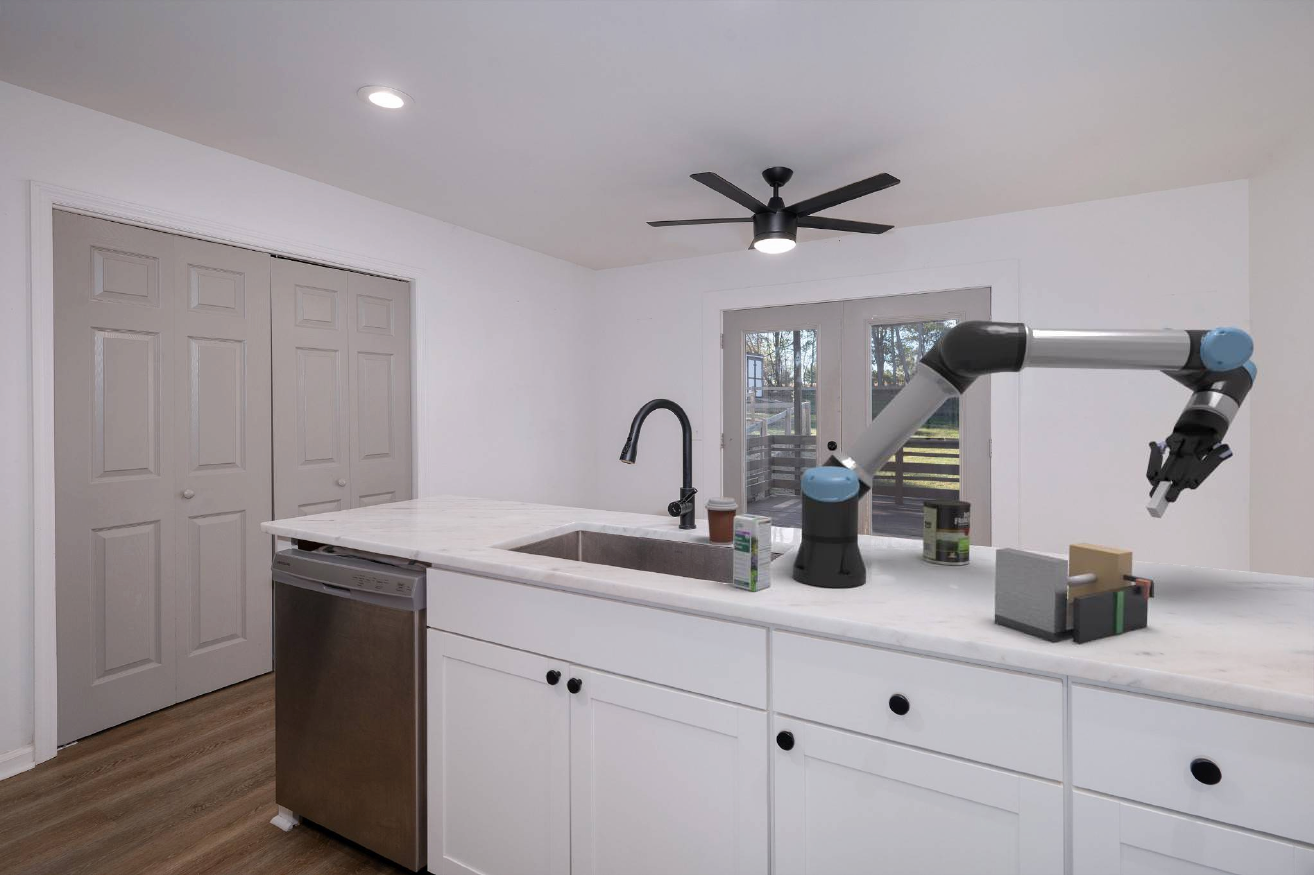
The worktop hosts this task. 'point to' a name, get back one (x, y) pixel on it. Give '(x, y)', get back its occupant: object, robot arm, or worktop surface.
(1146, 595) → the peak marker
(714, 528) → the coffee cup
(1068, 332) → the robot arm
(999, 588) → the stand
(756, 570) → the syrup box
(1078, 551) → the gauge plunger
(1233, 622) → the worktop surface
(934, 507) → the coffee can
